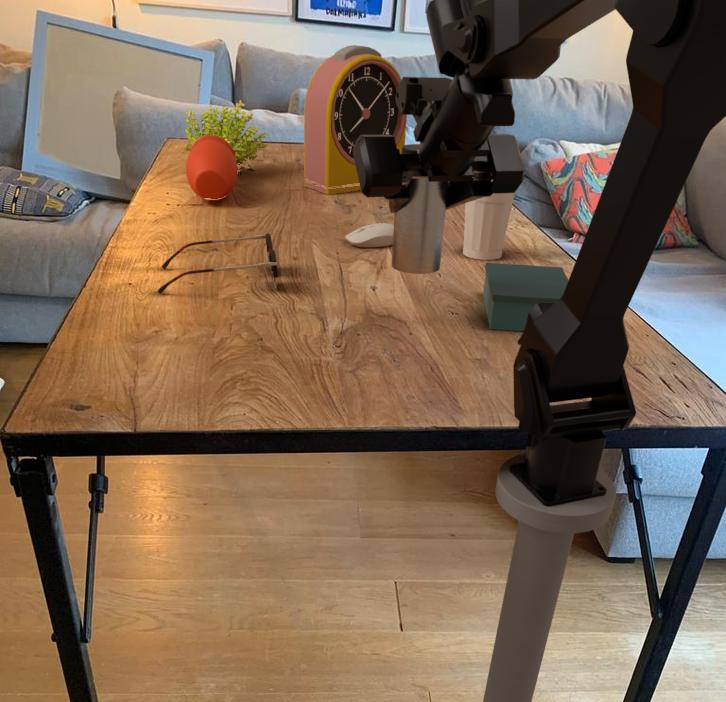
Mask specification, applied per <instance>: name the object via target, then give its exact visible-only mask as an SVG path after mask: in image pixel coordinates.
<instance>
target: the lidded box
mask: <svg viewBox="0 0 726 702" xmlns="http://www.w3.org/2000/svg"><path fill="white" fill-rule="evenodd" d="M484 270H485V276H484V285H483V292H482V297H483V302H484V307H485V312H486V316H487V322H488V327H489V329H490V330H498V331H499V330H500V331H511V332H513V331H514V332H524V329H525V326H526V322H527V318H528V313H529V311H530V310H531V309H532V307H533V306H534V304H536V303H547V302H557V301H558V300H559V299H560V298H561V297H562V295H563V293H564V291H565V289H566V286H567V283H568V281H569V278H568V276H567V274H566V272H565V271H564V269H563V267H561V266H547V265H544V266H543V265H532V264H531V265H529V264H516V263H515V264H514V263H497V262H485V265H484Z"/></svg>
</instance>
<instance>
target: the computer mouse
mask: <svg viewBox="0 0 726 702" xmlns="http://www.w3.org/2000/svg"><path fill="white" fill-rule="evenodd" d="M393 232H394V223H388V222H378V223H371V224H367V225H364V226H362V227H359V228H356V229H355V230H354V231H351V232H350V233H348V234H346V235H345V236H344V239H346V241H347V242H348V243H349V244H350V245H352V246H354V247H357V248H382V247H383V248H384V247H390V246H393Z"/></svg>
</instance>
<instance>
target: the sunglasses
mask: <svg viewBox="0 0 726 702" xmlns="http://www.w3.org/2000/svg"><path fill="white" fill-rule="evenodd" d="M262 239H265V244H266V252H267V253H268V261H269V262H261V263H260V262H259V263H256V264H249V265H237V266H227V267H217V268H216V267H215V268H205V269H195V270H189V271H184V272H181V273H179V274H178V275H176V276H175V277H173V278H172V279H170V280H169V281H167V282H166V283H164V284H162V286H160V287H159V288H158V289H157V293H159V294H163V292H165V291H166V289H167V288H168V286H170V285H171V284H173V283H174V282H176V281H177V280H179V279H181V278H183V277H184V276H187V275H193V274H204V273H212V272H214V273H215V272H224V271H233V270H241V269H243V270H244V269H252V268H266V267H270V273H271V274H272V278H273V285H274V288H275V289H277V287H278V286H277V285H278V284H277V279H278V278H279V273H278V260H277V255H276V251H275V250H274V247H273V241H272V237H271V233H265V234H261V235H254V236H246V237H245V236H244V237H235V238H223V239H214V240H213V239H212V240H202V241H195V242H194V241H193V242H189V243H186V244H185V245H183V246H182V247H180V248H179V249H178V250H177V251H176V252H175V253H173V254H172V255H171V256H170V257H169V258H167V260H165V261H164V262H163V264H162V265H161V268H162V269H163V270H166V269H167V268H168V266H169V265H170V263H171V261H172V260H174V258H175V257H176V256H178V255H179V254H181V252H182V251H184V250H186V249H187V248H189V247H192V246H197V245H207V244H216V243H218V244H219V243H227V242H228V243H229V242H237V241H247V240H262Z"/></svg>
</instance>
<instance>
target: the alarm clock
mask: <svg viewBox="0 0 726 702" xmlns="http://www.w3.org/2000/svg"><path fill="white" fill-rule="evenodd" d="M401 80H402V78H401V76H400V73H399V71H398V70H397V69H396V67H395V66H394V65H393V64H392V63H391V62H390V61H388V60H387V59H385V58H384V57H382V54H381V53H380V52H379V51H378V50H376V49H374V48H372V47H370V46H365V45H356V44H353V45H347V46H344V47H342V48H341V49H338V50H337V51H335V52H334V54H333V55H331V56H330V57H328V58H326V59H325V60H324V61H323V62H322V63H321V64H320V65H319V66H318V67H317V68H316V69H315V71H314V73H313V75H312V77H311V78H310V81H309V83H308V86H307V89H306V93H305V97H304V107H303V147H304V148H303V153H304V154H303V169H304V170H303V178H304V177H305V178H307V179H309V180H311V181H314V182H317V183H319V184H321V185H324V186H327V187H332V186H341V185H347V184H353V183H359V179H358V174H357V169H356V165H355V160H354V155H353V148H354V145H355V142H356V140H357V139H358V138H359V136H360V135H392V136H394V138H395V142H396V146H397V149H399V151H400V154H402V146H404V145H406V134H407V132H406V131H407V117H408V115H402V114H401V113H400V111H399V109H398V107H397V105H396V100H395V98H396V93H397V88H398V86H399V84H400V82H401ZM304 185H305V186H308V187H310V188H312V189H315V190H317V191H316V192H318V191H319V192H318V193H321V192H322V194H325V195H335V194H343V193H344V194H345V193H350V192H351V191H352V192H359V191H358V190H360V191H361V188H360V186H353V187H345V188H336V189H324V188H321V187H318V186H315V185H312V184H309V183H306V182H304V181H303V186H304ZM312 189H311V190H312ZM315 190H314V191H315Z"/></svg>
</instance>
